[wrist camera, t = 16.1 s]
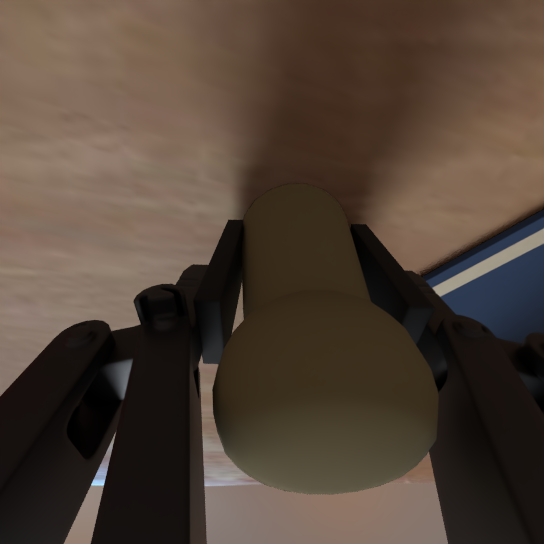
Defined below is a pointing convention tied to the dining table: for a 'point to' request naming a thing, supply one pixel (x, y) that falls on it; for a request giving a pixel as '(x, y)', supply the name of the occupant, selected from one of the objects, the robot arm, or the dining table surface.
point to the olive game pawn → (317, 359)
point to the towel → (499, 281)
